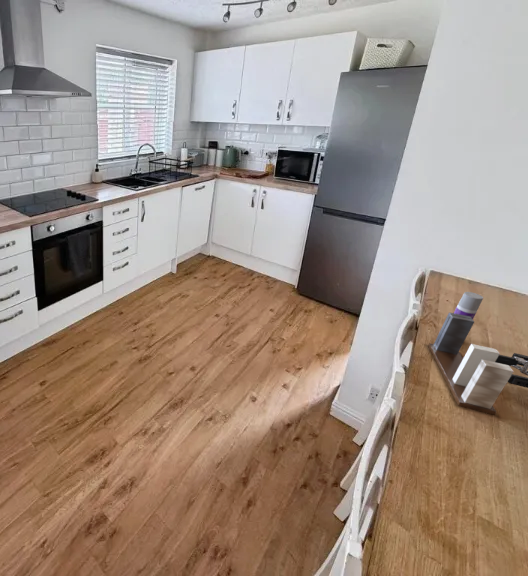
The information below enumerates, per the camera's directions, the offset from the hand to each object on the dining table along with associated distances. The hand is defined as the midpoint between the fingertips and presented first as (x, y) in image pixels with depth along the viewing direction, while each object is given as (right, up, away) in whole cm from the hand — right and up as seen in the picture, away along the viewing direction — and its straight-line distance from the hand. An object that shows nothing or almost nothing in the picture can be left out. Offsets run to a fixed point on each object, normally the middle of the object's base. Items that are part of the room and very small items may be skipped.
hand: (500, 367), depth 88 cm
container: (+11, +3, +26) cm, 29 cm away
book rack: (-3, -4, +9) cm, 11 cm away
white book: (-4, -5, +5) cm, 8 cm away
